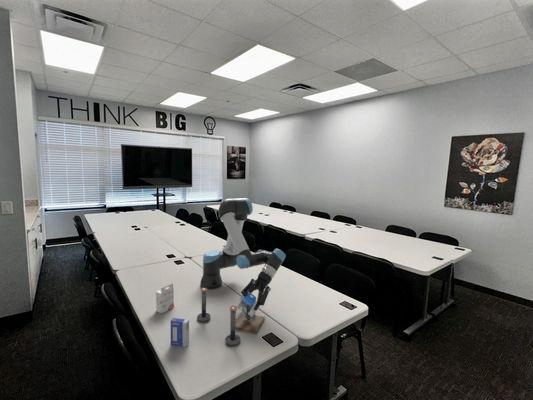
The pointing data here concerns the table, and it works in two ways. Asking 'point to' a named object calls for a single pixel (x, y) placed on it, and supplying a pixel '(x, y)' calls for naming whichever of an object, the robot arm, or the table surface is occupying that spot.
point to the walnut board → (249, 324)
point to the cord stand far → (203, 308)
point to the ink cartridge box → (165, 299)
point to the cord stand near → (232, 329)
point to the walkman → (179, 332)
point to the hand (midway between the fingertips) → (243, 311)
